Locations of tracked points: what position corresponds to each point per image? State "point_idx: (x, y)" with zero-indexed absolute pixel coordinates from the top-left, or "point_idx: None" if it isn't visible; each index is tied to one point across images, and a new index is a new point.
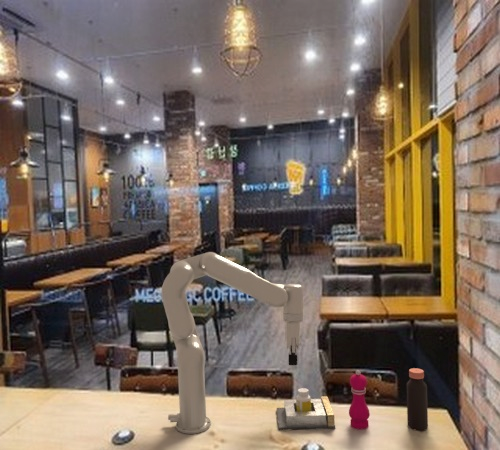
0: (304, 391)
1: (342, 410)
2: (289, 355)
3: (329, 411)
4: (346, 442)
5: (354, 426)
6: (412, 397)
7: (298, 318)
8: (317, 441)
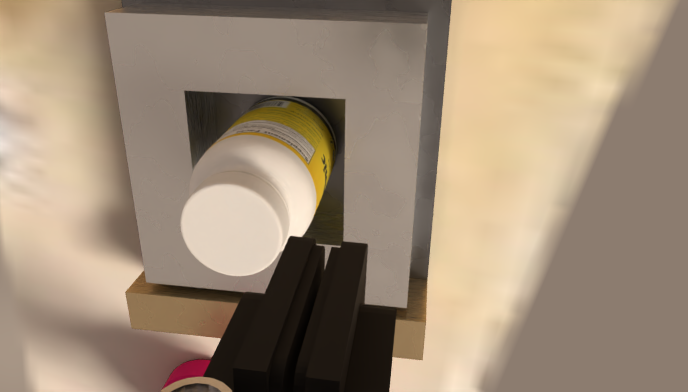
0: (197, 237)
1: (392, 371)
2: (237, 367)
3: (176, 314)
4: (38, 294)
5: (173, 372)
6: None
7: None
8: (23, 163)
